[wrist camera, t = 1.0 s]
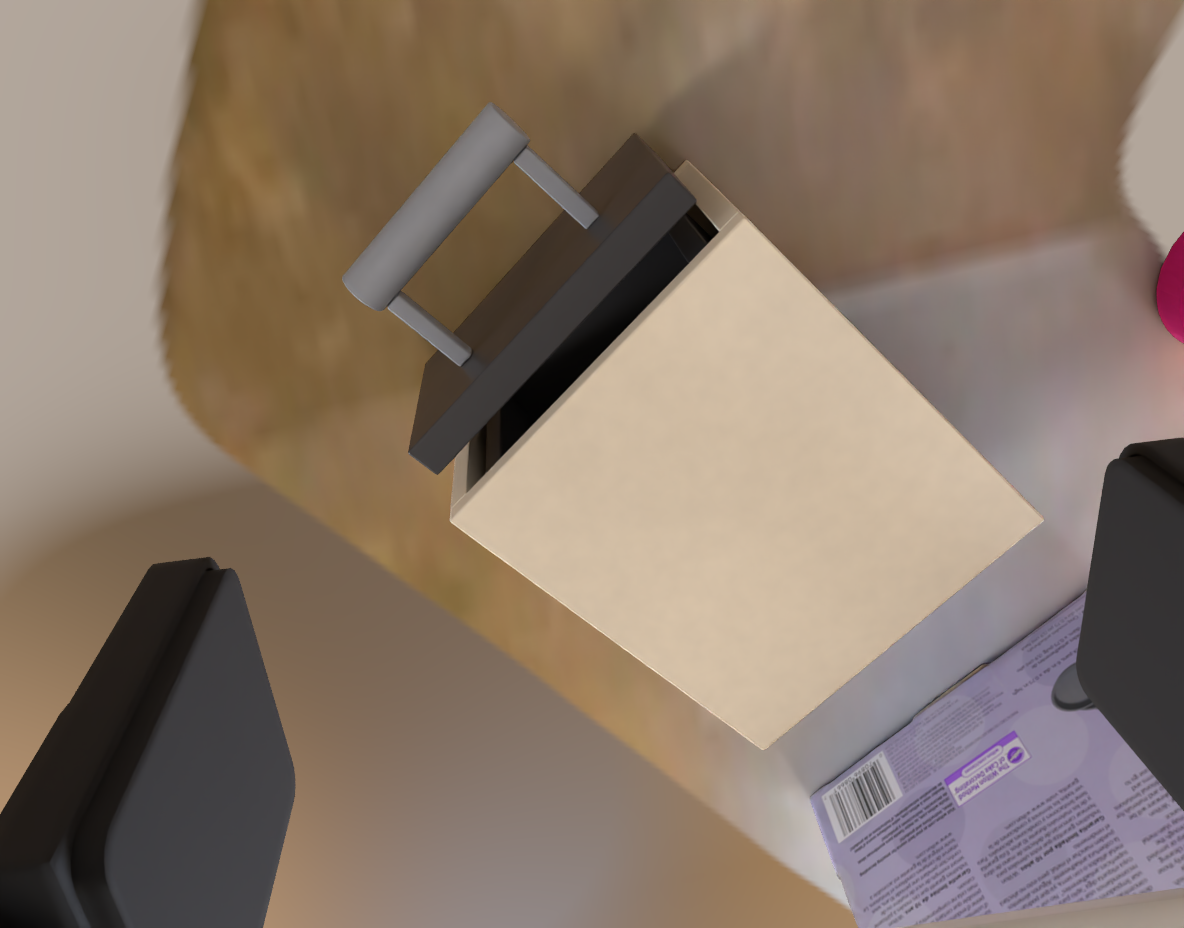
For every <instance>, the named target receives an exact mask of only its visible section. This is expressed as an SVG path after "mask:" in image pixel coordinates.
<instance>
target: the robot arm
mask: <svg viewBox="0 0 1184 928" xmlns="http://www.w3.org/2000/svg"><path fill="white" fill-rule="evenodd" d="M1076 670H1077V675H1078V679H1079V682H1080V685H1081V687H1082V689H1083V691H1084V692H1085V694H1086V695H1087V697H1088V698H1089V699H1090V700H1091V701H1092V703H1093V704H1094V705H1095V706H1096V707H1097V708H1098V710H1099V711H1100V712H1101V713H1102V714H1103V716H1104V717H1105V718H1106V719H1107V720H1108V722H1109V723H1110V724H1111V725H1112V726H1113V728H1114V729H1115V730H1116V731H1117V732H1118V734H1119V735H1120V736H1121V737H1122V738H1123V740H1124V741H1125V742H1126V743H1127V744H1128V745H1129V747H1130V748H1131V749H1132V750H1133V751H1134V753H1135V754H1136V755H1137V756H1138V757H1139V759H1140V760H1141V761H1142V762H1143V763H1144V765H1145V766H1146V767H1147V768H1148V769H1149V771H1150V772H1151V773H1152V774H1153V775H1154V777H1155V778H1156V779H1157V780H1158V781H1159V783H1160V784H1161V785H1162V786H1163V787H1164V788H1165V790H1166V791H1167V792H1168V793H1169V794H1170V796H1171V797H1172V798H1173V799H1174V800H1175V802H1176V803H1177V804H1178V805H1179V806H1180V808H1181V809H1182V810H1183V811H1184V438H1175V439H1167V440H1158V441H1150V442H1142V443H1134V444H1130V445H1128V446H1127V447H1125V448H1124V450H1123V451H1122V453H1121V454H1120V457H1119V459H1114V460H1113V461H1111V462H1110V463H1109V465H1108V467H1107V469H1106V472H1105V477H1104V483H1103V490H1102V496H1101V503H1100V509H1099V515H1098V522H1097V528H1096V535H1095V541H1094V548H1093V554H1092V561H1091V567H1090V573H1089V580H1088V586H1087V593H1086V599H1085V606H1084V612H1083V618H1082V625H1081V631H1080V638H1079V644H1078V651H1077V657H1076ZM294 797H295V773H294V767H293V762H292V758H291V755H290V752H289V748H288V745H287V741H286V738H285V735H284V731H283V728H282V724H281V721H280V718H279V714H278V711H277V707H276V704H275V700H274V697H273V694H272V690H271V687H270V683H269V680H268V677H267V673H266V669H265V666H264V663H263V659H262V656H261V652H260V649H259V646H258V643H257V639H256V635H255V632H254V629H253V625H252V622H251V618H250V615H249V612H248V608H247V605H246V601H245V598H244V594H243V591H242V587H241V584H240V581H239V578H238V576H237V574H236V572H235V571H234V570H233V569H231V568H229V569H219V566H218V565H217V563H216V562H215V560H213V559H212V558H210V557H206V558H199V559H190V560H182V561H173V562H166V563H158V564H153V565H152V566H151V567H150V568H149V569H148V571H147V573H146V574H145V576H144V578H143V579H142V581H141V583H140V584H139V586H138V588H137V590H136V591H135V593H134V595H133V596H132V598H131V600H130V602H129V603H128V605H127V606H126V608H125V610H124V612H123V613H122V615H121V616H120V618H119V620H118V622H117V623H116V625H115V627H114V628H113V630H112V632H111V633H110V635H109V637H108V639H107V640H106V642H105V644H104V645H103V647H102V649H101V650H100V652H99V654H98V655H97V657H96V659H95V660H94V662H93V664H92V666H91V667H90V669H89V671H88V672H87V674H86V676H85V677H84V679H83V681H82V682H81V684H80V686H79V688H78V689H77V691H76V693H75V695H74V696H73V698H72V699H71V701H70V703H69V704H68V705H67V706H66V707H65V709H64V710H63V711H62V712H61V713H60V715H59V716H58V718H57V720H56V722H55V723H54V725H53V727H52V728H51V730H50V732H49V733H48V735H47V737H46V738H45V740H44V742H43V743H42V745H41V747H40V749H39V750H38V752H37V753H36V755H35V757H34V759H33V760H32V762H31V763H30V765H29V767H28V768H27V770H26V772H25V774H24V775H23V777H22V779H21V780H20V782H19V784H18V785H17V787H16V789H15V790H14V792H13V794H12V796H11V797H10V799H9V801H8V802H7V804H6V806H5V807H4V809H3V811H2V812H1V814H0V928H263V925H264V921H265V917H266V913H267V908H268V905H269V900H270V896H271V892H272V888H273V884H274V880H275V876H276V872H277V867H278V864H279V859H280V855H281V851H282V847H283V843H284V839H285V835H286V831H287V826H288V823H289V819H290V815H291V810H292V806H293V802H294ZM897 928H1184V888H1177V889H1170V890H1162V891H1155V892H1148V893H1140V894H1133V895H1126V896H1118V897H1111V898H1104V899H1096V900H1089V901H1082V902H1074V903H1067V904H1060V905H1053V906H1046V907H1039V908H1031V909H1024V910H1017V911H1010V912H1003V913H996V914H989V915H982V916H975V917H968V918H961V919H954V920H947V921H939V922H932V923H925V924H918V925H911V926H904V927H897Z"/></svg>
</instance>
